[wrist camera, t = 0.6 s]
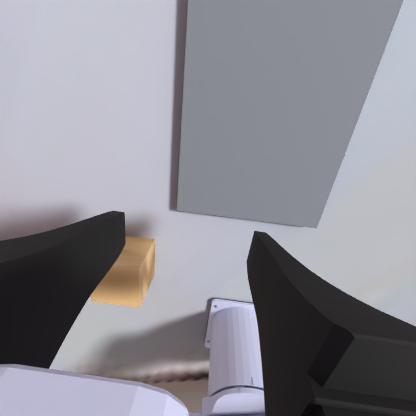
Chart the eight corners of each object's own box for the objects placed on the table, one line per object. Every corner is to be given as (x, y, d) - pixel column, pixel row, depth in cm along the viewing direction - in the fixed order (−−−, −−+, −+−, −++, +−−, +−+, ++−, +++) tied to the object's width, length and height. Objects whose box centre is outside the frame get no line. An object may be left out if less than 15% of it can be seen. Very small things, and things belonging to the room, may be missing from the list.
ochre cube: (154, 273, 25) (139, 307, 20) (114, 268, 25) (91, 301, 21) (155, 239, 23) (138, 268, 18) (111, 233, 23) (84, 261, 18)
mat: (312, 223, 21) (316, 228, 20) (178, 206, 21) (176, 210, 20) (413, -53, 13) (428, -66, 12) (195, -78, 13) (193, -93, 12)
